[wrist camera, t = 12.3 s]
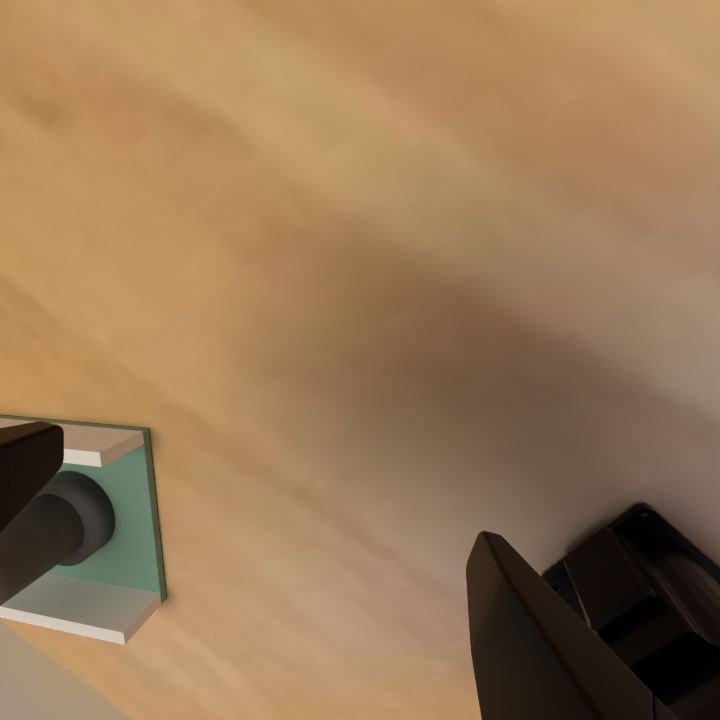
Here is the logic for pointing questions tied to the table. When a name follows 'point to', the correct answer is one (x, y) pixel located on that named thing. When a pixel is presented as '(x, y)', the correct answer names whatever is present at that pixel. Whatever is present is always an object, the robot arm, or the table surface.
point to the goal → (116, 558)
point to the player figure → (54, 531)
